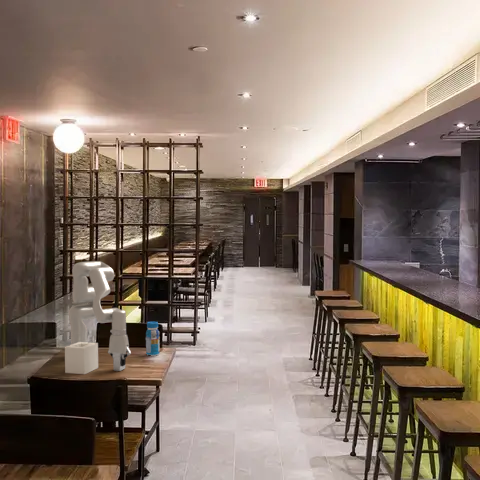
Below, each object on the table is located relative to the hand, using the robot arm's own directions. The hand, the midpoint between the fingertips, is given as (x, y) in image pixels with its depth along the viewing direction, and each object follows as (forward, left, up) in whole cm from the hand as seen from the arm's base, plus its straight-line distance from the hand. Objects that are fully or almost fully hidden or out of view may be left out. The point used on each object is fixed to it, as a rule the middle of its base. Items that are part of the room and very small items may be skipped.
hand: (119, 365), depth 323 cm
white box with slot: (-20, -6, -3) cm, 21 cm away
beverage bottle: (+2, +38, -3) cm, 38 cm away
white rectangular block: (0, 0, -2) cm, 2 cm away
